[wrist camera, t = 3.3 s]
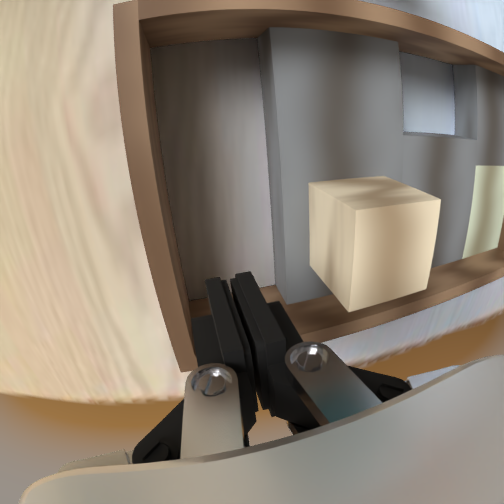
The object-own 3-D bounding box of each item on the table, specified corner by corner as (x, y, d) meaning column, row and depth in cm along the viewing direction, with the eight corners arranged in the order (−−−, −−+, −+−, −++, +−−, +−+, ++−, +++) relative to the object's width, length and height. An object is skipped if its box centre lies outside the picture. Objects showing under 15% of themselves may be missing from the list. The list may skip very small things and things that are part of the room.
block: (383, 175, 17) (441, 199, 13) (378, 251, 19) (426, 288, 15) (308, 182, 16) (355, 210, 12) (309, 265, 19) (348, 312, 14)
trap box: (495, 70, 18) (540, 74, 13) (483, 245, 26) (520, 268, 21) (131, 36, 13) (113, 4, 8) (177, 315, 21) (180, 372, 16)
